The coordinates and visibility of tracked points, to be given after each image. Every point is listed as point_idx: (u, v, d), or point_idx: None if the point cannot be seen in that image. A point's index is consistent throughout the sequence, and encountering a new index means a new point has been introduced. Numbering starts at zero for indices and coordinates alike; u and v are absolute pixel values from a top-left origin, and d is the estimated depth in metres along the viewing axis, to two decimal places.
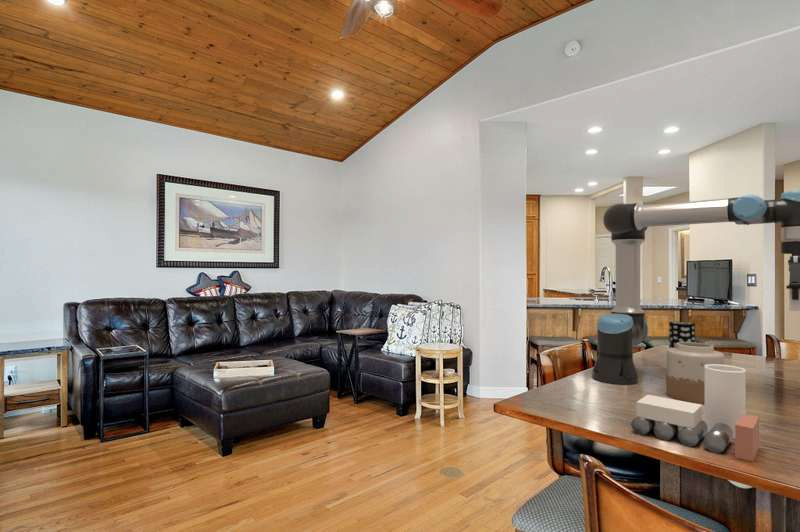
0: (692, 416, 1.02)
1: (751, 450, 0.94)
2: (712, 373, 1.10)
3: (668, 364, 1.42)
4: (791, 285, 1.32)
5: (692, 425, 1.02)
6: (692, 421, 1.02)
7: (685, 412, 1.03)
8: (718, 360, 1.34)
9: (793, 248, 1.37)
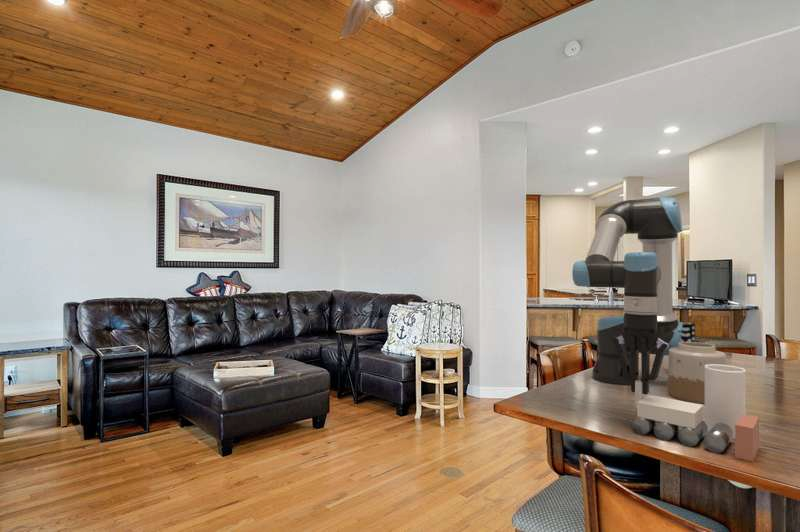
0: (693, 416, 1.02)
1: (751, 450, 0.94)
2: (712, 373, 1.10)
3: (669, 363, 1.43)
4: None
5: (693, 425, 1.02)
6: (693, 421, 1.02)
7: (686, 412, 1.03)
8: (718, 360, 1.34)
9: None
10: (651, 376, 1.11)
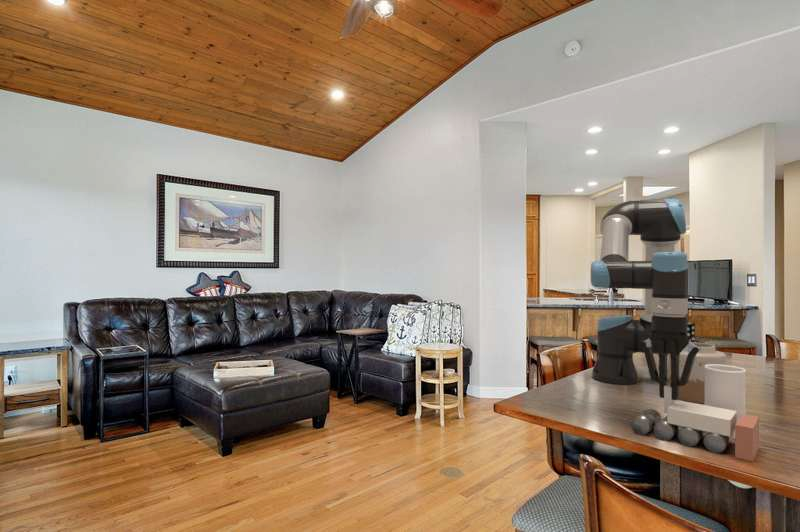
0: (728, 423, 0.97)
1: (751, 450, 0.94)
2: (712, 373, 1.10)
3: (669, 363, 1.43)
4: None
5: (728, 433, 0.97)
6: (728, 429, 0.97)
7: (721, 419, 0.98)
8: (718, 360, 1.34)
9: None
10: (681, 381, 1.06)
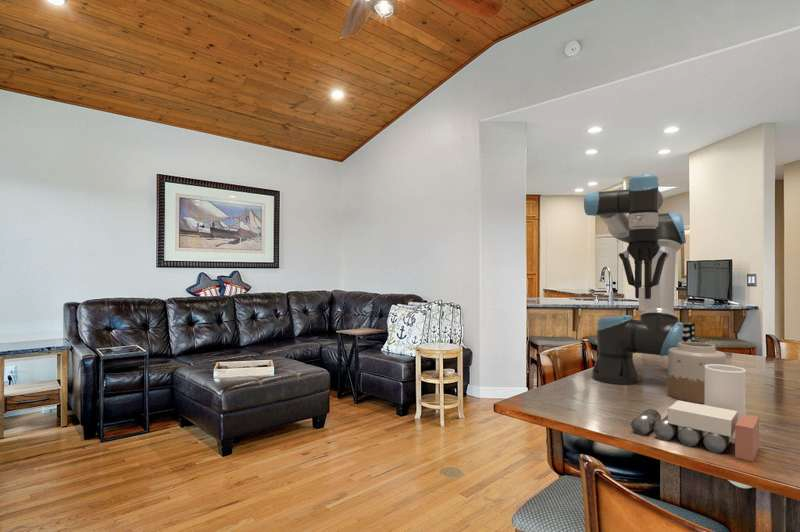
0: (729, 423, 0.97)
1: (751, 450, 0.94)
2: (712, 373, 1.10)
3: (669, 363, 1.43)
4: None
5: (729, 433, 0.97)
6: (729, 429, 0.97)
7: (721, 419, 0.98)
8: (718, 360, 1.34)
9: None
10: (653, 282, 1.27)
